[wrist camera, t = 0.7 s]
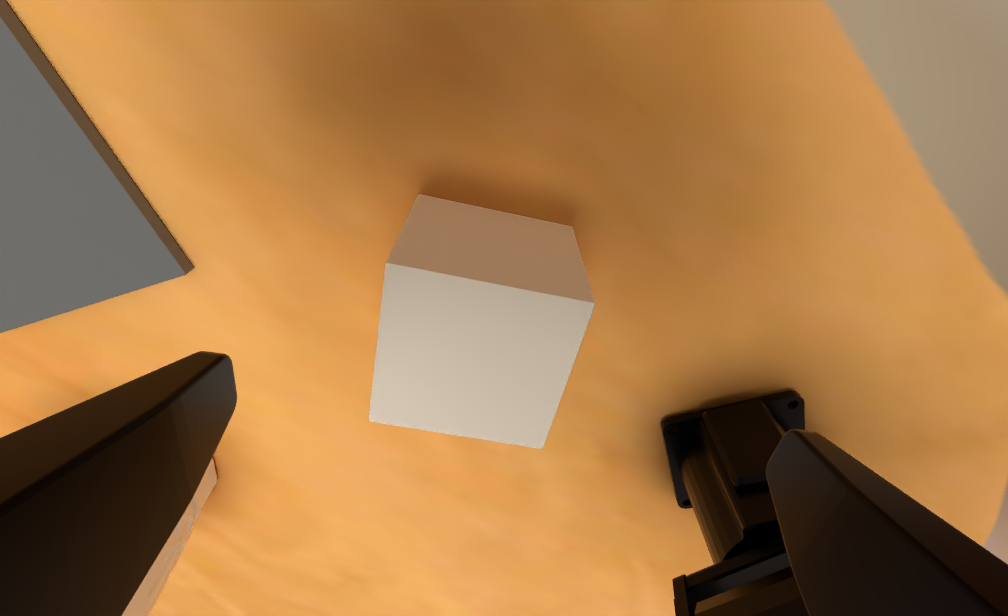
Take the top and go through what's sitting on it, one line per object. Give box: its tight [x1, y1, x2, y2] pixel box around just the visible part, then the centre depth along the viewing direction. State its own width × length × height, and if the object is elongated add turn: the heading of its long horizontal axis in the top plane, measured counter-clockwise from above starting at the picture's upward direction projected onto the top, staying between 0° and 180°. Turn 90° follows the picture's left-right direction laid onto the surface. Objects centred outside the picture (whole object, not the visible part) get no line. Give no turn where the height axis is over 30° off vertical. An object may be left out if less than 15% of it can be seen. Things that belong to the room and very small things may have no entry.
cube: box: [369, 194, 596, 449], centre depth 18 cm, size 6×6×6 cm
